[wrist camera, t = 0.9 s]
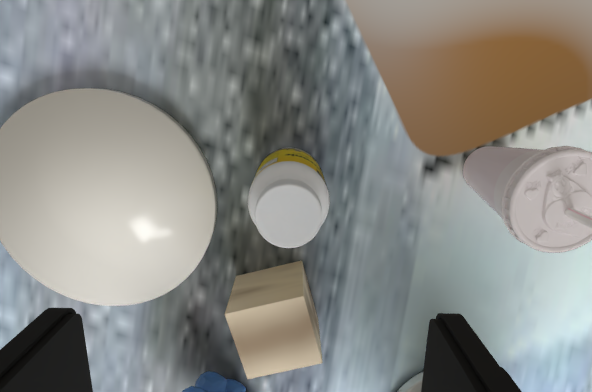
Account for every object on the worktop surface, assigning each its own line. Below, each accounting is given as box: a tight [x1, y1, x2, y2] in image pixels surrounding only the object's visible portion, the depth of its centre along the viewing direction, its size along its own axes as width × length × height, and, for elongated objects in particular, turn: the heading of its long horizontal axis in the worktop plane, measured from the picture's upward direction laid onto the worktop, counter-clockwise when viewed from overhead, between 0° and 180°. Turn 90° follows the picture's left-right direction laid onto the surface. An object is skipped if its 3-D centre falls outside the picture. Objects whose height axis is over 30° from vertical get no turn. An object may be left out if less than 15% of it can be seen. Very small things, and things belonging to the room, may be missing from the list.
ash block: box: [225, 260, 322, 379], centre depth 32 cm, size 6×6×6 cm
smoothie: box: [463, 146, 592, 253], centre depth 25 cm, size 6×6×14 cm
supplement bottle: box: [248, 148, 330, 248], centre depth 27 cm, size 5×5×10 cm
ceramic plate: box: [0, 88, 217, 306], centre depth 32 cm, size 18×18×2 cm
